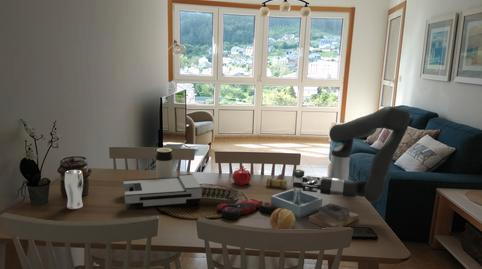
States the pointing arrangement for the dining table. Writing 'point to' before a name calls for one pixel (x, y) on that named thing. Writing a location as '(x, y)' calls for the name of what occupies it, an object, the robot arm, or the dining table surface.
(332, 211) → the peg hole base
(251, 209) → the toy motorcycle
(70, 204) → the beer glass
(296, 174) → the stop pin
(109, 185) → the dining table surface
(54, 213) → the dining table surface
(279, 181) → the gavel
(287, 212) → the bread roll
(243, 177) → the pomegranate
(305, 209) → the tray
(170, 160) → the travel mug
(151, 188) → the game console
